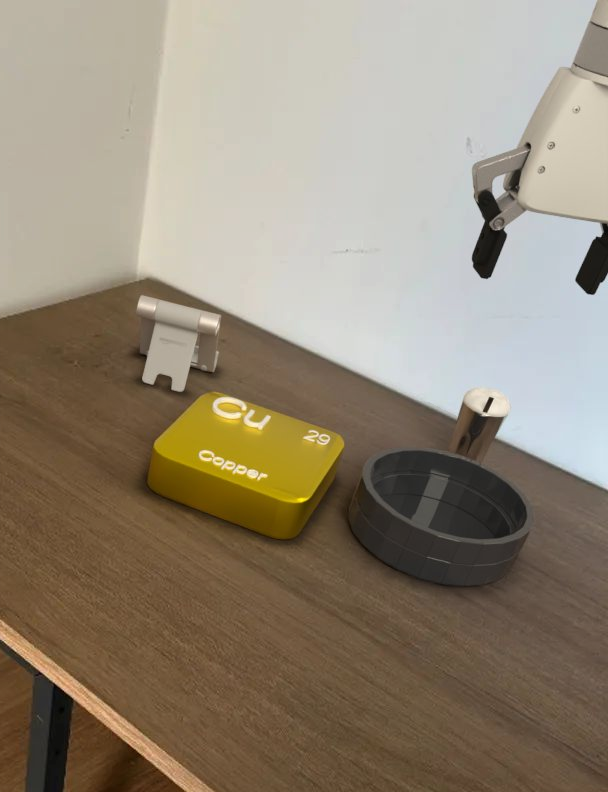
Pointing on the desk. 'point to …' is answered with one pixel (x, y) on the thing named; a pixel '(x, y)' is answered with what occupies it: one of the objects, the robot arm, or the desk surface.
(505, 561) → the pan
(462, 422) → the milkshake
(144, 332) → the tablet stand
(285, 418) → the element tile
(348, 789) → the desk surface
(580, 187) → the robot arm
